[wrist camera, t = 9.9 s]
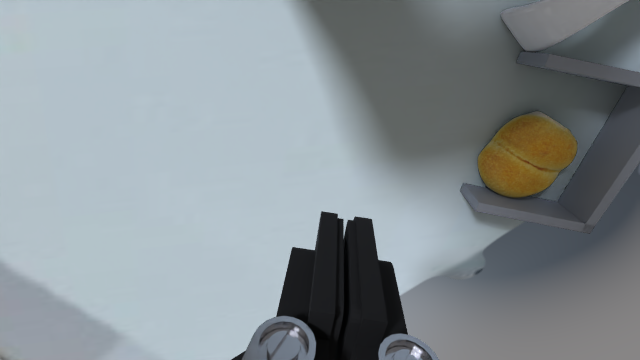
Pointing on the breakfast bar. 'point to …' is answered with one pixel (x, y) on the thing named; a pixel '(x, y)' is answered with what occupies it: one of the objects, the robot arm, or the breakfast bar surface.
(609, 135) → the box
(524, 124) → the bread roll
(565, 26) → the spoon rest
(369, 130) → the breakfast bar surface
